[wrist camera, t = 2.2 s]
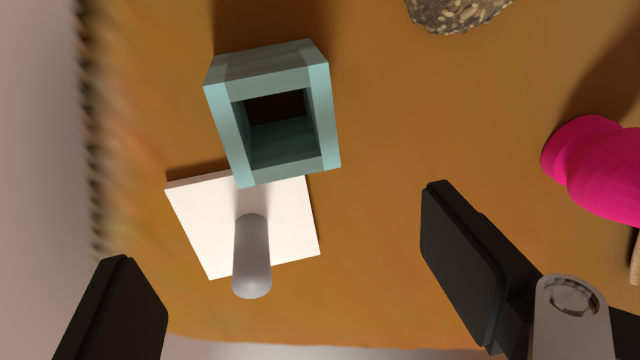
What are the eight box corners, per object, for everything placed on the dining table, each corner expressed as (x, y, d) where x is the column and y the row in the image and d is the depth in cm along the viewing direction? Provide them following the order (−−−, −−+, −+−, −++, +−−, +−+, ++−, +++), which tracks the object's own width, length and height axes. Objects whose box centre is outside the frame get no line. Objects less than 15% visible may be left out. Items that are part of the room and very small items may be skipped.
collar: (213, 55, 20) (202, 86, 15) (309, 37, 21) (328, 62, 16) (240, 141, 24) (238, 189, 19) (322, 124, 24) (341, 167, 19)
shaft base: (167, 182, 25) (141, 250, 19) (299, 154, 25) (315, 211, 19) (210, 271, 30) (201, 344, 24) (318, 246, 31) (334, 312, 25)
